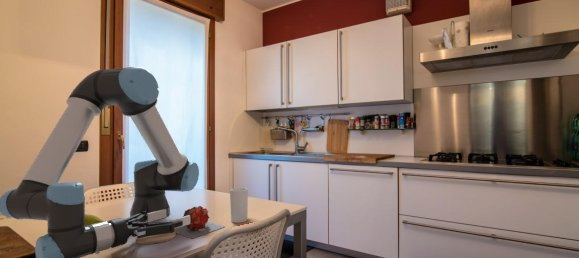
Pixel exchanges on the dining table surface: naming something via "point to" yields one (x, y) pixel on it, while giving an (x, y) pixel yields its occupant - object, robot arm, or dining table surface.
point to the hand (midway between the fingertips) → (177, 216)
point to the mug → (239, 204)
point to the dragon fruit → (197, 217)
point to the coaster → (156, 238)
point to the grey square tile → (197, 230)
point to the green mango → (91, 219)
